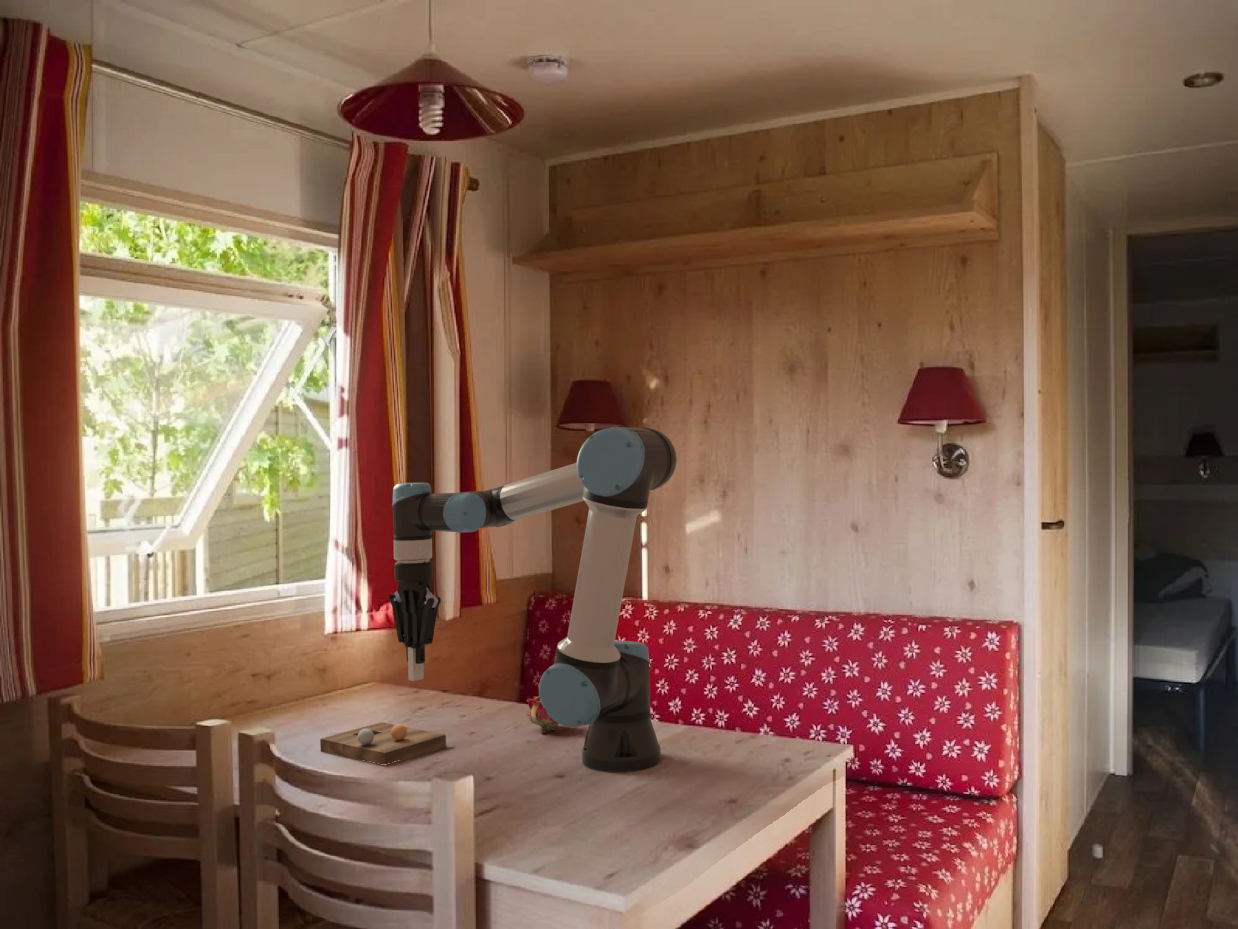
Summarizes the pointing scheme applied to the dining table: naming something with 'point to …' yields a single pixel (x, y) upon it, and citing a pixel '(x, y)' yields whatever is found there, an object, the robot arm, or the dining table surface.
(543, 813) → the dining table surface
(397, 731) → the ball
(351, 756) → the board
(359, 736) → the grey ball
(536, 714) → the flower
